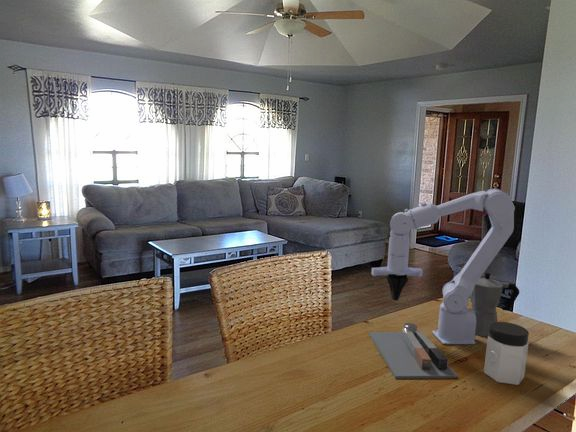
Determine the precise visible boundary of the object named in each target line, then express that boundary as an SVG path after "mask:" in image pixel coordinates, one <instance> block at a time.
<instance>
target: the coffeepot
mask: <svg viewBox="0 0 576 432" xmlns="http://www.w3.org/2000/svg"><path fill="white" fill-rule="evenodd" d="M504 290H505V291H509V290H511V294H510V297H509V299H508V301H507V304H506V306H501V309H502V311H511V309H512V307H513V305H514V304H515V302H516V300H517V298H518V296H519V294H520V289H519V288H518V287H517V285H516V284H515V283H510V282H509V283H508V282H500V281H498V280H495V279H492V278H491V272H484V277H480V278H479V280H478V281H477V283H476V284H475V286H474V289H473V292H472V294H471V296H470V297H469V301H470V303H471V307H470V308H469V309H472V310H473V311H474V313H475V315H476V330H475V336H480V337H484V338H485V337H487V338H488V336H489V335H490V326H491V324H492V323H494V322H499V321H498V313H497V308H498V306H499V304H500V300H501V296H502V295H503V294H502V293H503V291H504Z"/></svg>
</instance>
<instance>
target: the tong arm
mask: <svg viewBox="0 0 576 432" xmlns="http://www.w3.org/2000/svg"><path fill="white" fill-rule="evenodd" d="M415 331H418V325H417V324H415V323H412V322H406V323H404V324H403V327H402V331H401V332H402V337H403V339H404V341H405V342H406V344H407V345H408V347H409V349H410V350H411V352H412V354H413V355H414V357H415V359H416V361H417V362H418V364H419V366H420V367H421V369H430V367H431V358H430V357H429V356H428V354H427V353H426V351H425V350H424V348H423V347H422V346H421V344H420V343H419V341H418V340H417V338H416V337H415Z"/></svg>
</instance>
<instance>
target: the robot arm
mask: <svg viewBox="0 0 576 432" xmlns="http://www.w3.org/2000/svg"><path fill="white" fill-rule="evenodd" d="M470 209H471V210H476V211H479V212H483V211H484V210H485V212H486V213H487V214H488V218H489V221H490V224H491V228H490V229H489V230H488V231H487V233H486V235H485V236H484V237H483V239H482V240H481V241H480V243H479V245H478V246H477V247H476V249H475V250H474V252H473V253H472V254H471V256H470V257H469V259H468V260H467V261H466V263H465V264H464V266H463V268H462V269H461V270H460V271H459V273H458V274H456V275H455V276H454V277H453V278H452V279H451V280H450V281H449V282H447V283H445V284H444V285H443V287H442V291H441V292H442V298H443V301H442V302H441V303H440V305H439V314H438V324H437V325H438V326H437V330H431V333H432V334H433V335H434V337H435V338H437V340H439V342H440V343H441V344H442V345H475V344H477V343H476V341H475V338H476V335H475V330H476V315H475V313H474V311H473V310H472V309H470V308H468V306H469V301H470V296H471V294H472V292H473V289H474V286H475V284H476V283H477V281H478V280H479V278H482V276H483V274H485V273H486V271H487V269H488V267H489V266H490V264H492V262H493V260H495V258H496V256H497V254H499V252H500V251H501V249H502V247H504V245H505V244H506V242H507V241H508V239H509V238H510V237H511V236H512V234H513V232H514V229H515V210H516V207H515V205H514V203H513V200H512V197H511V196H510V195H509V194H508V193H507V192H504V191H502V190H501V189H500V188H490V189H487V190H480V191H475V192H471V193H469V194H466V195H463V196H461V197H458V198H455V199H452V200H449V201H447V202H446V201H445V202H444V203H440V204H439V205H438V204H437V205H435V204H433V203H432V202H431V203H430V202H429V203H426V202H422V203H421V205H420V206H417V207H413V208H410V209H409V208H405V209H404V211H399V212H397V213H394V215H392V216H391V220H390V221H389V227H390V232H389V236H390V237H388V239H389V240H388V252H387V254H388V255H387V263H386V264H387V266H381V267H371V275H372V276H373V277H377V276H385V278H386V279H387V282H388V285H389V290H390V294H391V295H390V296H391V300H393V301H399V299H400V295H401V293H402V291H403V289H404V287H405V285H406V284H407V283H408V280H409V276H410V277H416V276H417V277H418V278H419V277H421V278H423V274H424V273H423V269H422V268H420V267H408V266H409V255H410V254H409V253H410V245H411V243H410V242H411V240H410V231H411V229H412V230H418V229H420V228H424V227H427V226H430V225H434V224H437V223H438V222H439V220H440V218H441V217H444V216H447V215H452V214H455V213H458V212H459V213H460V212H463V211H466V210H470Z"/></svg>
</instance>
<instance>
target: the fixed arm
mask: <svg viewBox="0 0 576 432" xmlns="http://www.w3.org/2000/svg"><path fill="white" fill-rule="evenodd" d="M415 337H416V338H417V340H418V341H419V343H420V344H421V346H422V347H423V348H424V350H425V351H426V353H427V354H428V356H429V357H430V358H431V361H432V362H433V363H434V365H435V366H436V367H437V368H438V369H447V364H448V358H447V357H446V356H445V355H444V354H443V353H442V351H440V349H439V348H438V347H437V346H436V345H435V344H434V343H433V342H432V341H431V340H430V338H429V337H428V336H427V335H426V334H425V333H424V332H423V331H418V330H417V331H415Z"/></svg>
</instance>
